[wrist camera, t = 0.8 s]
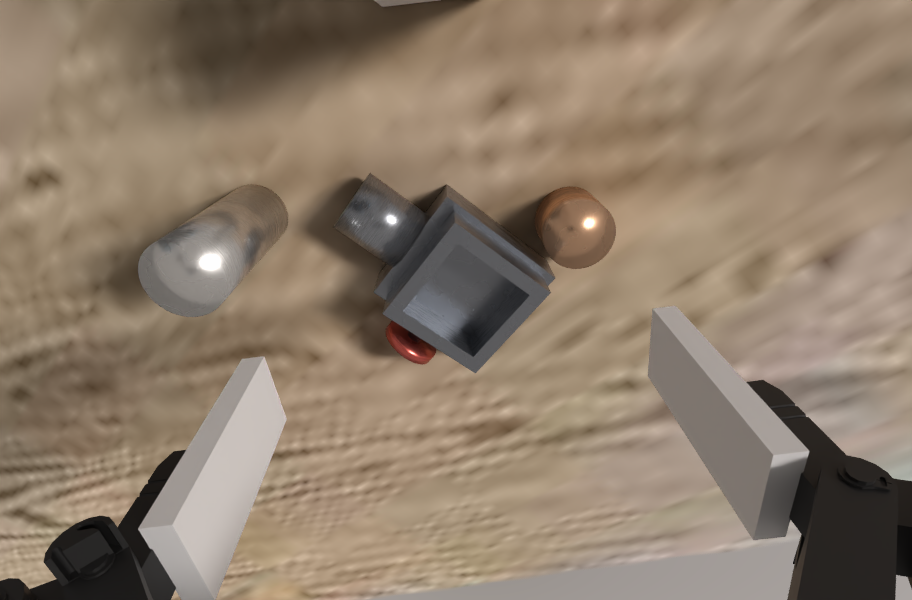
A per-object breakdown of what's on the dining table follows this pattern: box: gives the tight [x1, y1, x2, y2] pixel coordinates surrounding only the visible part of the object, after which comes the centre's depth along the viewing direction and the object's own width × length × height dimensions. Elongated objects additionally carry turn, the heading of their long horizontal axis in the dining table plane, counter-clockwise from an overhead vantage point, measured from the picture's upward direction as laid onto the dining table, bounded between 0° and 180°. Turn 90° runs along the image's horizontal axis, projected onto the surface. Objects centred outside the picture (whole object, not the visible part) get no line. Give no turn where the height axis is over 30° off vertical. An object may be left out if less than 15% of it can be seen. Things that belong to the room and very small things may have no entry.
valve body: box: [333, 173, 555, 373], centre depth 37 cm, size 15×12×6 cm
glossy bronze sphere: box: [535, 187, 616, 269], centre depth 37 cm, size 5×5×4 cm
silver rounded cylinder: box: [138, 184, 288, 317], centre depth 32 cm, size 5×5×12 cm
